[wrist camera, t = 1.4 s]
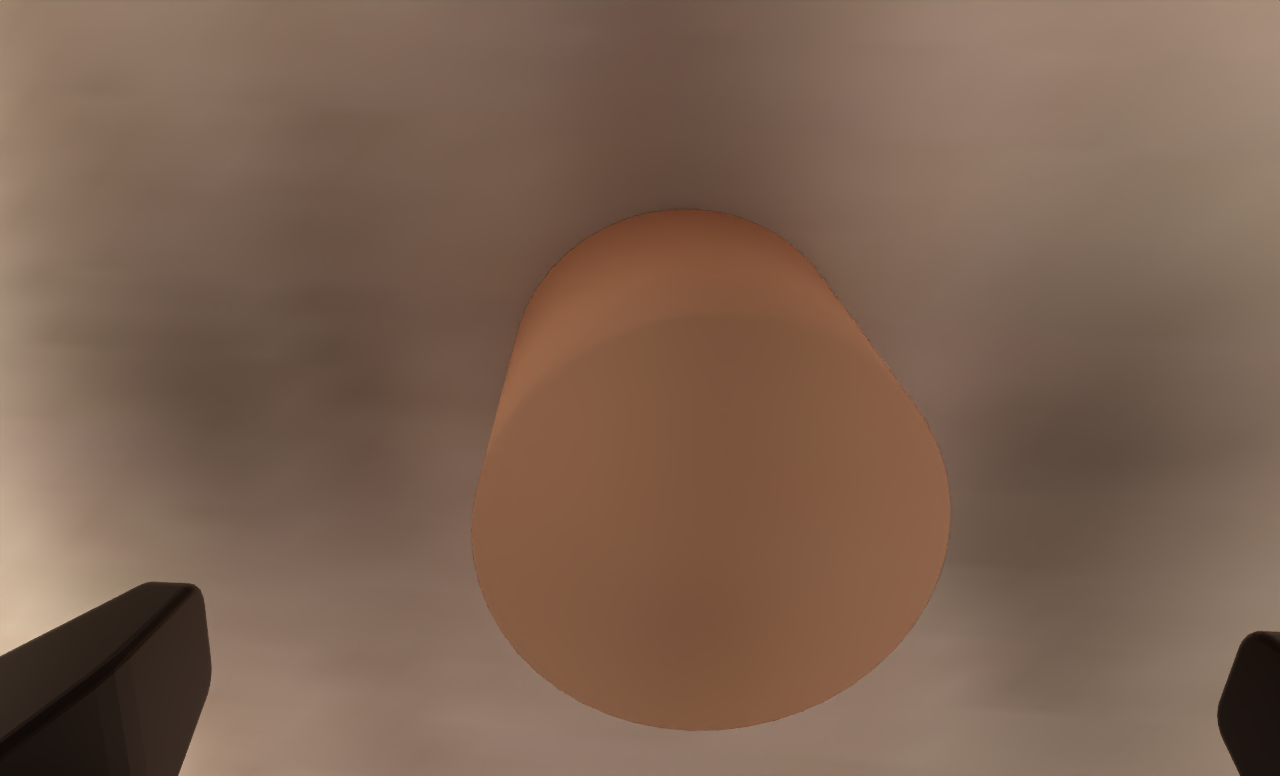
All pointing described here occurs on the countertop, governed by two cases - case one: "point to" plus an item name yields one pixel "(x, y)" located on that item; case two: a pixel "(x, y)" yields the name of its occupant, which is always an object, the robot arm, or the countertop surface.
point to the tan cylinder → (703, 481)
